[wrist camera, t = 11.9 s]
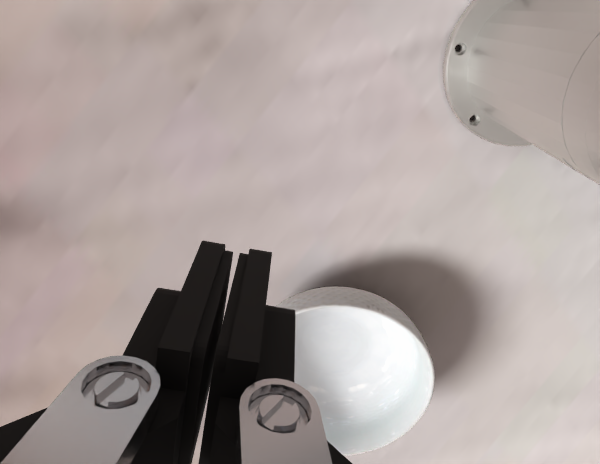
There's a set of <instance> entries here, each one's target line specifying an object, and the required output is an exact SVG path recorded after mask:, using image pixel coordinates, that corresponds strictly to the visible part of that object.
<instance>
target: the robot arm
mask: <svg viewBox="0 0 600 464" xmlns="http://www.w3.org/2000/svg"><path fill="white" fill-rule="evenodd" d="M456 45H460V50H459V51H458V52H456V51H455V47H456ZM443 83H444V88H445V92H446V97H447V100H448V102H449V104H450V106H451V109H452V111H453V112H454V114H455V115H456V116H457V118H458V119H459V120H460V122H461V123H462V124H463V125H464V126H465V127H467V128H468V129H469V130H470V131H471V132H473V133H474V134H476V135H477V136H479V137H480V138H482V139H484V140H487V141H489V142H492V143H494V144H499V145H505V146H527V145H532V144H533V145H534V146H536V147H538V148H539V149H541V150H543V151H544V152H546V153H548V154H549V155H551V156H552V157H554V158H556V159H557V160H559V161H561V162H562V163H564V164H566V165H567V166H569V167H571V168H572V169H574V170H575V171H577V172H579V173H580V174H582V175H584V176H586V177H587V178H589V179H591V180H592V181H594V182H596V183H597V184H599V185H600V0H473V1H472V2H471V4H470V5H469V6H468V7H467V9H466V10H465V11H464V13H463V14H462V15H461V17H460V18H459V20H458V22H457V24H456V26H455V27H454V29H453V31H452V33H451V36H450V39H449V42H448V45H447V48H446V51H445V58H444V64H443ZM473 115H474V119H473V120H472V121H470V120H469V119H470V118H471V116H473ZM232 256H233V252H231V251H225V244H219V243H213V242H207V241H202V242H201V245H200V247H199V250H198V252H197V254H196V257H195V259H194V262H193V264H192V266H191V269H190V271H189V274H188V276H187V278H186V281H185V283H184V286H183V288H182V290H181V291H175V290H169V289H163V288H157V290H156V291H155V293H154V295H153V297H152V299H151V301H150V303H149V305H148V306H147V308H146V310H145V312H144V314H143V316H142V318H141V320H140V322H139V324H138V326H137V328H136V330H135V332H134V334H133V336H132V338H131V340H130V342H129V344H128V346H127V348H126V350H125V352H124V354H123V356H110V357H106V358H103V359H99V360H96V361H94V362H92V363H90V364H88V365H86V366H85V367H84V368H83V369H82V370H81V371H80V372H78V373H77V374H76V376H75V377H74V378H73V379H72V380H71V381H70V383H69V384H68V385H67V386H66V387H65V388H64V390H63V391H62V392H61V393H60V394H59V396H58V397H57V398H56V399H55V400H54V401H53V403H52V404H51V405H50V406H49V407H48V408H46V409H43V410H41V411H38V412H36V413H33V414H31V415H28V416H26V417H24V418H21V419H19V420H16V421H14V422H11V423H9V424H6V425H4V426H1V427H0V464H191V463H192V459H193V454H194V450H195V446H196V442H197V438H198V433H199V429H200V425H201V421H202V417H203V412H204V408H205V404H206V400H207V396H208V392H209V397H208V404H207V411H206V418H205V424H204V431H203V438H202V445H201V452H200V459H199V464H352V463H351V462H350V461H349V460H348V459H347V458H345V457H344V456H343V455H342V454H341V453H340V452H339V451H338V450H337V449H336V448H335V447H334V446H333V445H331V444H330V443H329V442H328V441H327V439H326V434H325V430H324V426H323V422H322V417H321V413H320V409H319V406H318V404H317V402H316V399H315V398H314V397H313V396H312V395H311V394H310V392H309V391H308V390H306V389H305V388H303V387H302V386H300V385H299V384H296V383H294V372H295V316H296V314H295V310H293V309H287V308H281V307H274V306H268V305H266V299H267V290H268V282H269V273H270V264H271V256H272V252H266V251H260V250H254V249H250V250H249V254H243V253H240V255H239V259H238V263H237V267H236V271H235V275H234V279H233V283H232V287H231V291H230V295H229V300H228V304H227V308H226V312H225V316H224V310H225V303H226V297H227V290H228V283H229V277H230V270H231V263H232ZM223 317H224V320H223ZM222 323H223V324H222ZM210 383H211V384H210ZM209 387H210V390H209Z"/></svg>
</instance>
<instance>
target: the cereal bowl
mask: <svg viewBox="0 0 600 464" xmlns="http://www.w3.org/2000/svg"><path fill="white" fill-rule="evenodd" d="M276 307H281V308H287V309H293V310H295V314H296V316H295V372H294V383H296V384H299V385H300V386H302V387H303V388H305V389H306V390H308V391H309V392H310V394H311V395H312V396H313V397H314V398H315V399H316V402H317V404H318V406H319V409H320V413H321V417H322V422H323V426H324V430H325V434H326V439H327V441H328V442H329V443H330V444H331V445H333V446H334V447H335V448H336V449H337V450H338V451H339V452H340V453H341V454H342V455H343V456H349V455H356V454H361V453H366V452H370V451H373V450H376V449H379V448H381V447H384V446H386V445H388V444H390V443H392V442H393V441H395V440H397V439H398V438H400V437H401V436H403V435H404V434H405V433H407V432H408V431H409V430H410V429H411V428H412V427H413V426H414V425H415V424H416V423H417V422H418V421H419V420H420V419H421V417H422V416H423V414H424V413H425V411H426V410H427V408H428V406H429V403H430V401H431V398H432V395H433V390H434V382H435V374H434V367H433V361H432V358H431V356H430V352H429V350H428V348H427V345H426V343H425V342H424V339H423V337H422V335H421V334H420V332H419V330H418V329H417V328H416V326H415V324H414V323H413V322H412V321H411V320H410V319H409V317H408V316H407V315H405V313H404V312H403V311H402V310H401V309H399V308H398V307H397V306H396V305H394V304H393V303H391V302H390V301H388V300H386V299H385V298H382V297H381V296H378V295H376V294H373V293H371V292H367V291H364V290H360V289H356V288H351V287H337V286H335V287H333V286H331V287H321V288H315V289H312V290H308V291H305V292H302V293H298V294H297V295H294V296H292V297H289V298H288V299H286V300H285V301H283V302H281V303H280V304H279V305H277V306H276Z"/></svg>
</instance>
